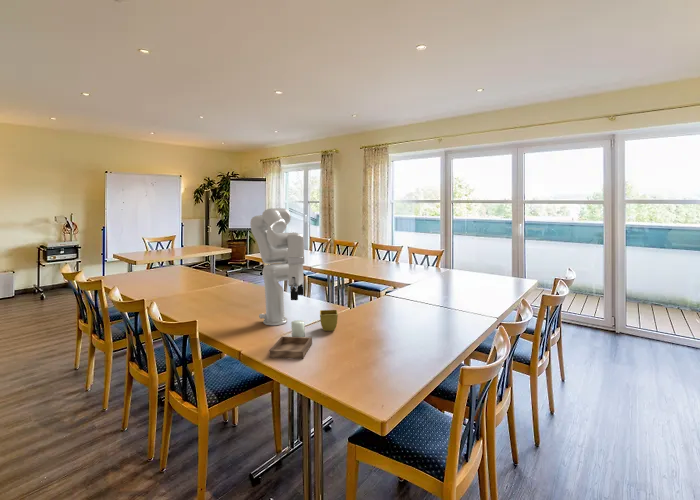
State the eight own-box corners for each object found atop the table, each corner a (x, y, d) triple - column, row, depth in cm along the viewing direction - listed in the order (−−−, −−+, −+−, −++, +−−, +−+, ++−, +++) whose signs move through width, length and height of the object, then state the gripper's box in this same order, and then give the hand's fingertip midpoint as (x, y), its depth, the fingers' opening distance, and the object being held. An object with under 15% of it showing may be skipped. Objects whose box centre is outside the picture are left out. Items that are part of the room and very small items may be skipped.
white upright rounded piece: (290, 340, 162) (289, 324, 161) (293, 336, 168) (293, 320, 167) (302, 341, 161) (302, 324, 161) (306, 336, 167) (305, 320, 166)
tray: (269, 357, 144) (269, 350, 143) (281, 343, 160) (281, 336, 159) (303, 359, 142) (302, 351, 142) (312, 344, 158) (311, 337, 158)
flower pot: (320, 327, 181) (319, 310, 180) (337, 326, 182) (336, 309, 181) (320, 332, 172) (319, 315, 171) (338, 332, 173) (337, 314, 172)
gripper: (293, 258, 170) (294, 293, 171) (282, 263, 152) (283, 302, 154) (308, 258, 169) (309, 293, 170) (299, 263, 152) (300, 302, 153)
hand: (297, 297), depth 162 cm, fingers open, 9 cm apart
